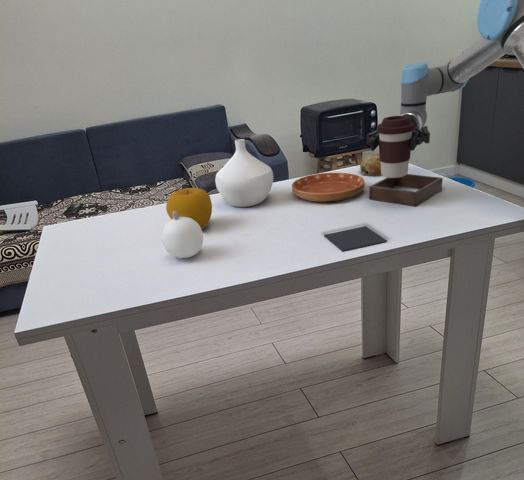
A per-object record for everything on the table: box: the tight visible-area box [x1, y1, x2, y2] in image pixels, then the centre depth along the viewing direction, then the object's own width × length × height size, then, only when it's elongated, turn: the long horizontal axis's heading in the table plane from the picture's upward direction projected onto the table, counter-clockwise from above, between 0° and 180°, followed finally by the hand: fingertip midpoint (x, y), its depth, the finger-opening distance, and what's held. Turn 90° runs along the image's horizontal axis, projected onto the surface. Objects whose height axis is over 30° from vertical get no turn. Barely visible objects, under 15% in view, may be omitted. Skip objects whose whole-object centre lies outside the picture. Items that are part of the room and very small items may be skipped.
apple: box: [165, 187, 213, 230], centre depth 154 cm, size 13×13×11 cm
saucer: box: [291, 172, 366, 203], centre depth 171 cm, size 23×23×4 cm
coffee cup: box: [376, 115, 415, 178], centre depth 147 cm, size 10×10×15 cm
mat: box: [323, 225, 388, 253], centre depth 138 cm, size 12×12×1 cm
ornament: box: [161, 211, 204, 259], centre depth 136 cm, size 10×10×12 cm
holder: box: [368, 173, 444, 208], centre depth 162 cm, size 16×16×4 cm
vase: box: [214, 138, 274, 208], centre depth 168 cm, size 18×18×19 cm
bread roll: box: [359, 153, 382, 177], centre depth 185 cm, size 10×10×8 cm
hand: (392, 145), depth 143 cm, fingers closed on coffee cup, 10 cm apart
